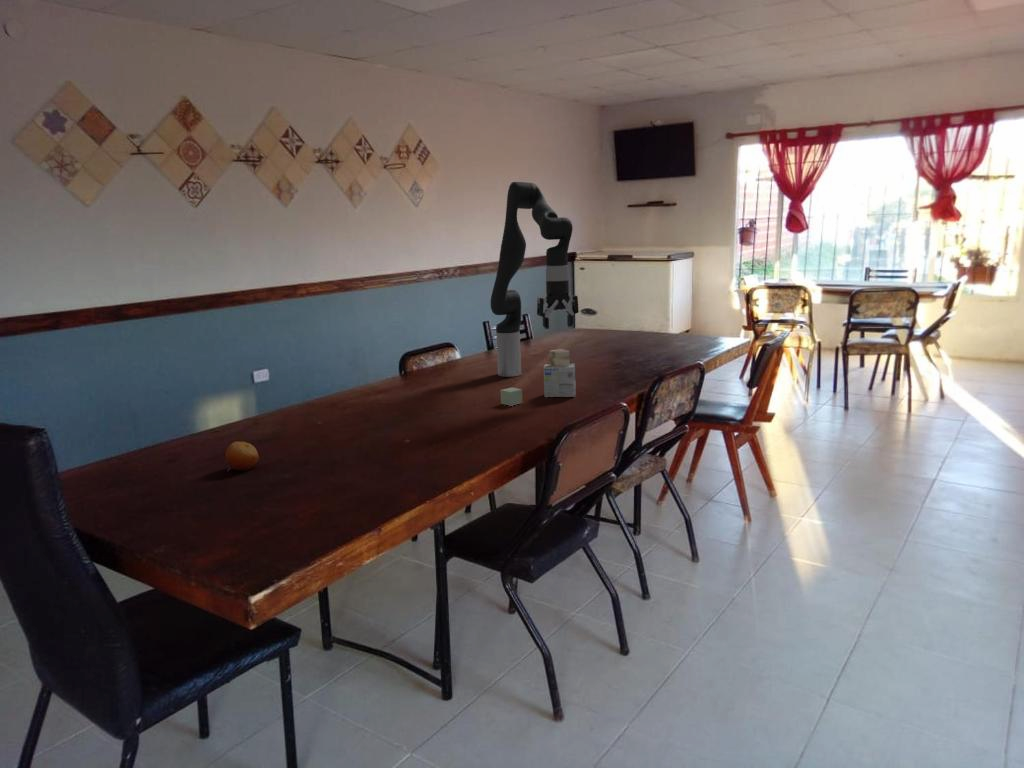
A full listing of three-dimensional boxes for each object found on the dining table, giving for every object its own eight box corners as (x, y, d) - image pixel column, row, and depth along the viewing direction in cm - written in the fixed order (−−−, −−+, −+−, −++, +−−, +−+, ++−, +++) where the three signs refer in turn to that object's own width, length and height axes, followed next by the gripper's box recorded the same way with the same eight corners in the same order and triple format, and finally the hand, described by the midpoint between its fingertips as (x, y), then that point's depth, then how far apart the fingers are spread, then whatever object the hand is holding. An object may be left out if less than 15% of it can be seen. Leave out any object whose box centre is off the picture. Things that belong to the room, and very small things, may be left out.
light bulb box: (575, 393, 258) (575, 363, 256) (575, 398, 251) (574, 366, 249) (545, 394, 259) (544, 363, 257) (543, 398, 252) (542, 367, 250)
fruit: (226, 458, 193) (239, 433, 191) (253, 473, 193) (266, 447, 192) (213, 468, 185) (226, 442, 183) (241, 483, 185) (255, 457, 184)
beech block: (550, 364, 254) (549, 350, 253) (563, 363, 256) (562, 349, 255) (556, 367, 250) (555, 352, 249) (569, 365, 251) (569, 351, 250)
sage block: (501, 404, 246) (500, 389, 245) (512, 401, 249) (511, 387, 248) (510, 407, 242) (510, 392, 241) (522, 404, 246) (521, 389, 244)
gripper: (571, 277, 252) (572, 324, 256) (533, 279, 247) (534, 327, 251) (581, 278, 246) (582, 327, 249) (542, 281, 241) (543, 330, 244)
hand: (558, 327), depth 250 cm, fingers open, 8 cm apart
